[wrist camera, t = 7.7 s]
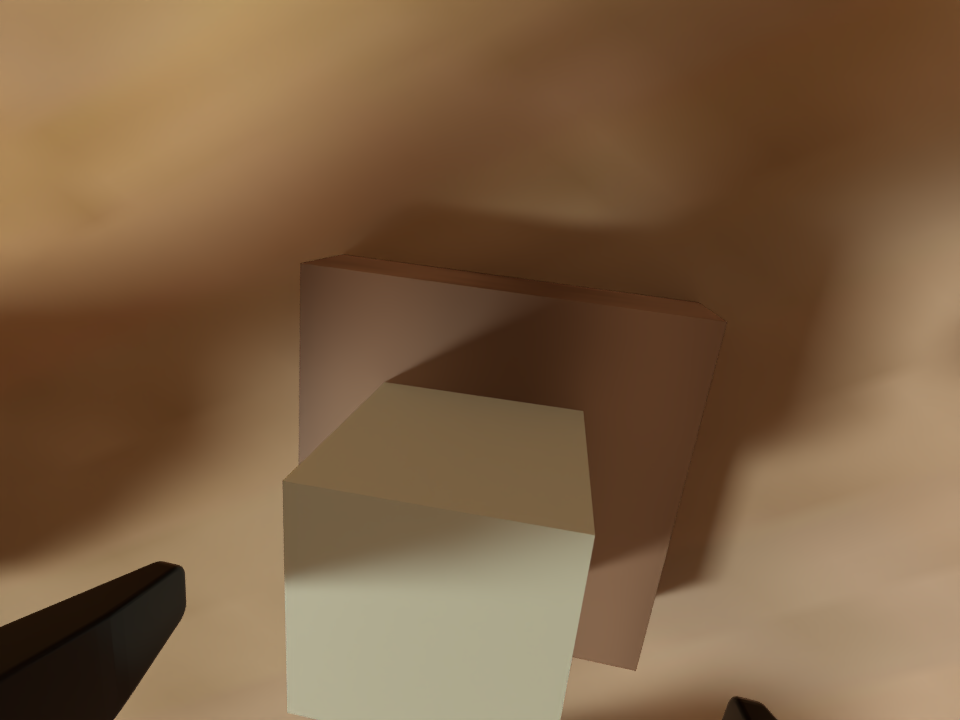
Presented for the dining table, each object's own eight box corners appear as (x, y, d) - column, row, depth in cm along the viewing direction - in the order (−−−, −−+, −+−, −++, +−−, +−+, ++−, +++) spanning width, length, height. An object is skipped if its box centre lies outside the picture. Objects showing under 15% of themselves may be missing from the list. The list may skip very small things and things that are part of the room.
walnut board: (338, 537, 18) (297, 597, 16) (349, 253, 15) (300, 263, 13) (624, 594, 17) (636, 670, 14) (694, 299, 14) (726, 322, 11)
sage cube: (377, 548, 15) (286, 712, 10) (384, 382, 13) (282, 480, 8) (555, 581, 14) (550, 773, 9) (583, 411, 12) (594, 535, 8)
